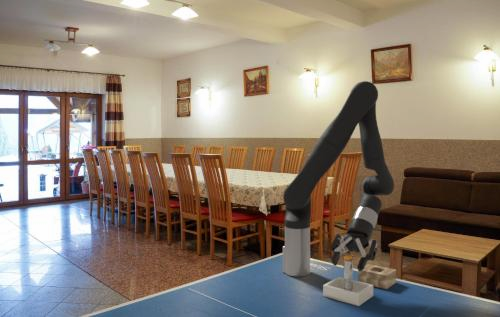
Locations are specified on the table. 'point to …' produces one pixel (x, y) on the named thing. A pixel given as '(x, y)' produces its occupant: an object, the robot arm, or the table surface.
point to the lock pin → (348, 271)
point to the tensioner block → (377, 276)
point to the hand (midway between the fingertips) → (346, 267)
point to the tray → (356, 297)
